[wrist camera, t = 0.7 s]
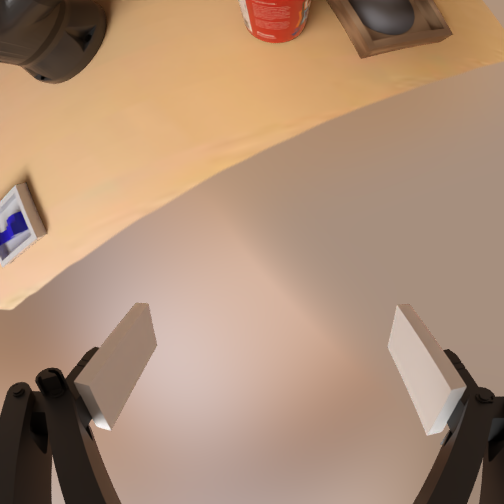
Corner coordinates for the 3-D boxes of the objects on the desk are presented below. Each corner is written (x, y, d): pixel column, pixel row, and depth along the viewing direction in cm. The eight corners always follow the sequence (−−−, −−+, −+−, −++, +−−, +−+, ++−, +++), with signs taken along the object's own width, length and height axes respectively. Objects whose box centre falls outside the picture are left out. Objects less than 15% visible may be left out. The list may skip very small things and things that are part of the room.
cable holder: (22, 210, 40) (7, 215, 37) (28, 228, 41) (13, 235, 38) (1, 225, 42) (-13, 231, 38) (7, 242, 43) (-6, 248, 39)
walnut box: (312, -20, 27) (315, -34, 23) (392, -32, 24) (401, -44, 21) (361, 58, 31) (369, 49, 27) (439, 42, 28) (452, 34, 24)
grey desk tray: (-8, 218, 42) (-17, 221, 39) (26, 182, 39) (15, 184, 37) (11, 262, 45) (2, 267, 42) (47, 233, 42) (36, 238, 39)
